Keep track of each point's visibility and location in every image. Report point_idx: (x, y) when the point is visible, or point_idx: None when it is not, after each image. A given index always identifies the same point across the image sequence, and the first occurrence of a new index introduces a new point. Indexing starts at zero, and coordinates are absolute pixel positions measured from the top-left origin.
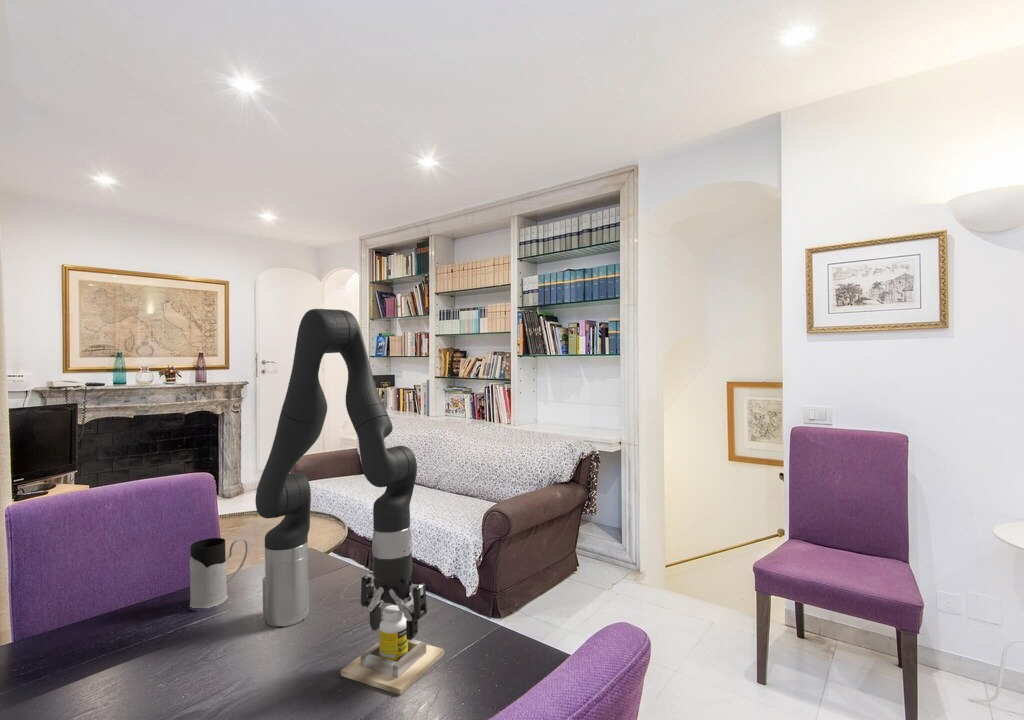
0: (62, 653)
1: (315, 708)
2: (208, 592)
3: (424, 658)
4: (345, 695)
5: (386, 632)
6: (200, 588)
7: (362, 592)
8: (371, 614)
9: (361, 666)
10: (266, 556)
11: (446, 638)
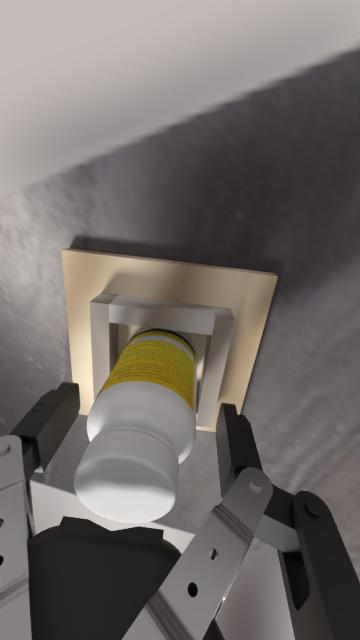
0: None
1: (265, 103)
2: None
3: (92, 375)
4: (209, 198)
5: (136, 382)
6: None
7: (356, 606)
8: (243, 454)
9: (227, 307)
10: None
11: None
